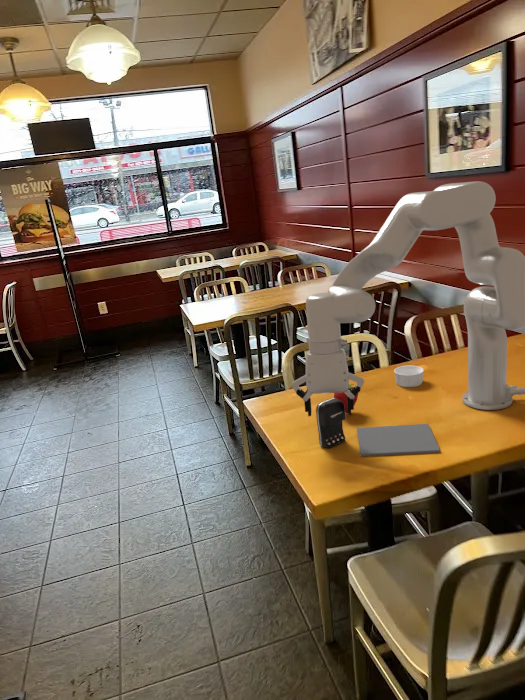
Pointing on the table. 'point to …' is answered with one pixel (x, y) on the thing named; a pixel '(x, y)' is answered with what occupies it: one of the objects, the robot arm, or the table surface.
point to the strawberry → (345, 398)
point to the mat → (396, 440)
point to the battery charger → (330, 422)
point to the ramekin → (409, 376)
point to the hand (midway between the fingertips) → (329, 413)
